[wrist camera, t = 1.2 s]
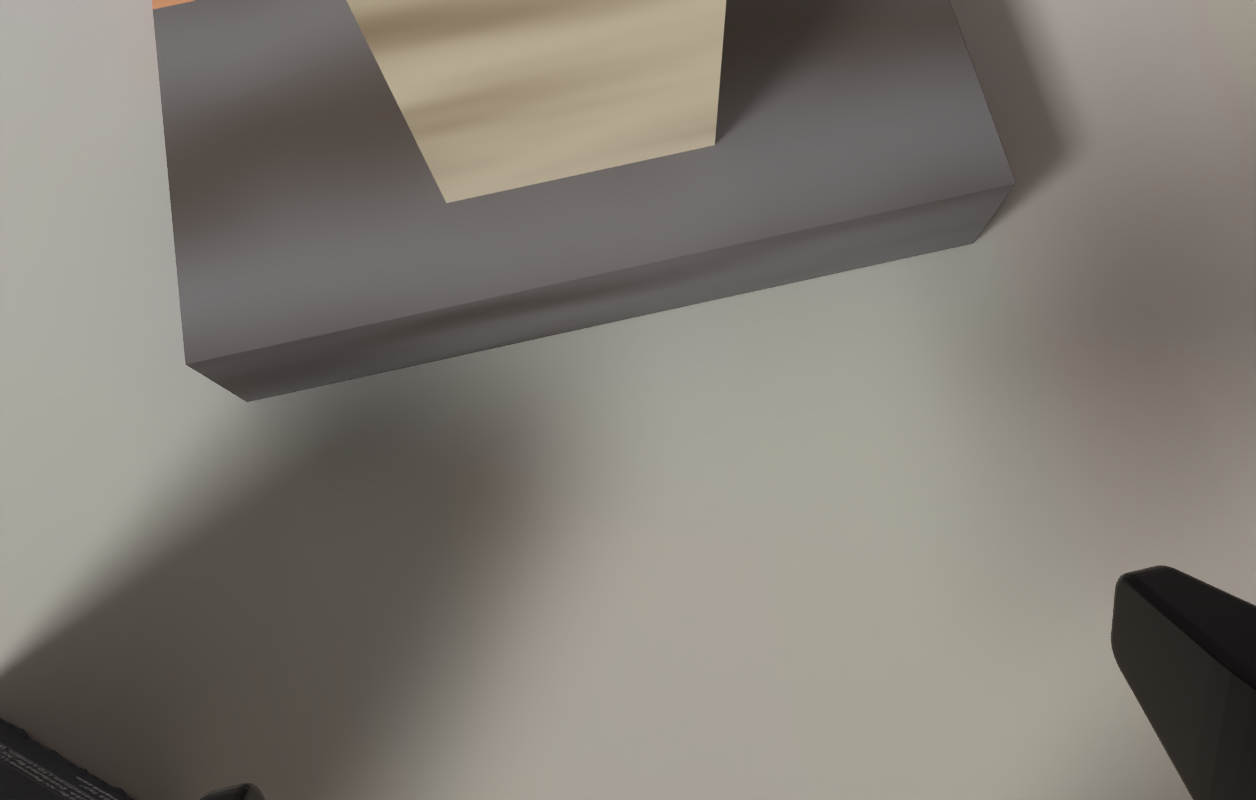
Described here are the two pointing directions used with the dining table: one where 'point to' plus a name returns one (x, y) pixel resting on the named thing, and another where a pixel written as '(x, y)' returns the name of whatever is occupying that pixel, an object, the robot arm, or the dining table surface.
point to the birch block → (547, 83)
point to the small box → (44, 772)
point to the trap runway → (542, 189)
